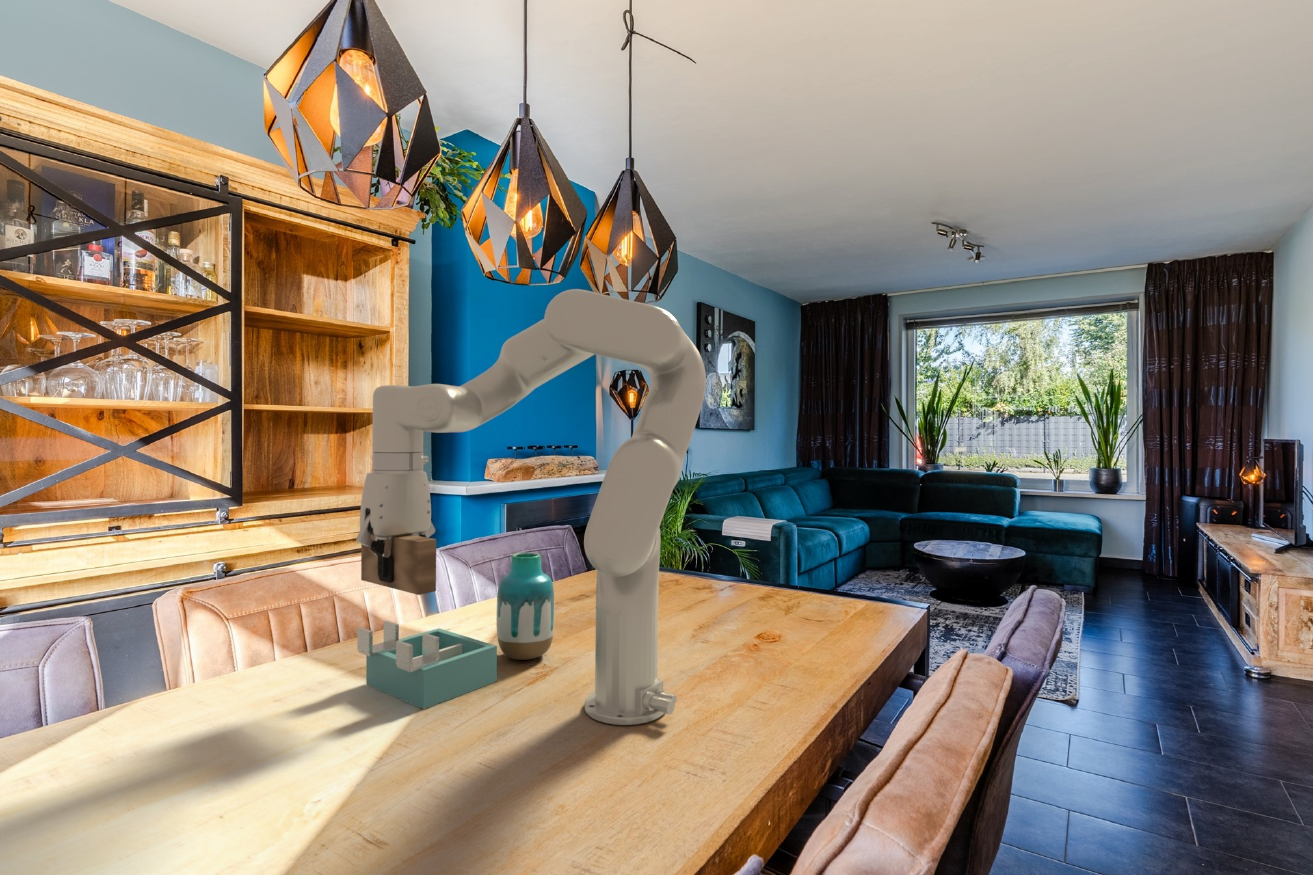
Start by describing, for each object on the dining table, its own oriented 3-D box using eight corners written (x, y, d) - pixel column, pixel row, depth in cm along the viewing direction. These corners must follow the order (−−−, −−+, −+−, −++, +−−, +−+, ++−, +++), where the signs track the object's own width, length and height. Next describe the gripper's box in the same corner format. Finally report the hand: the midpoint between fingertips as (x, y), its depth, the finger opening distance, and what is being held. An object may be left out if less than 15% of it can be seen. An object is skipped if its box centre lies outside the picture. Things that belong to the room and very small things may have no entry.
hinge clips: (439, 662, 103) (439, 637, 103) (409, 672, 98) (409, 646, 98) (386, 644, 111) (386, 620, 111) (357, 652, 107) (357, 627, 107)
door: (361, 580, 108) (361, 531, 108) (378, 576, 111) (378, 529, 111) (418, 595, 99) (418, 541, 99) (436, 591, 101) (436, 539, 101)
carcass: (496, 681, 111) (496, 645, 111) (423, 709, 100) (423, 669, 100) (438, 660, 120) (439, 628, 120) (366, 684, 109) (366, 648, 109)
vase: (483, 661, 121) (484, 556, 120) (521, 644, 130) (522, 547, 130) (530, 671, 116) (530, 562, 115) (565, 653, 125) (566, 552, 125)
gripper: (428, 461, 113) (427, 567, 113) (334, 464, 100) (334, 585, 100) (455, 462, 109) (455, 573, 109) (361, 466, 96) (360, 592, 96)
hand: (397, 578), depth 105 cm, fingers closed on door, 3 cm apart
